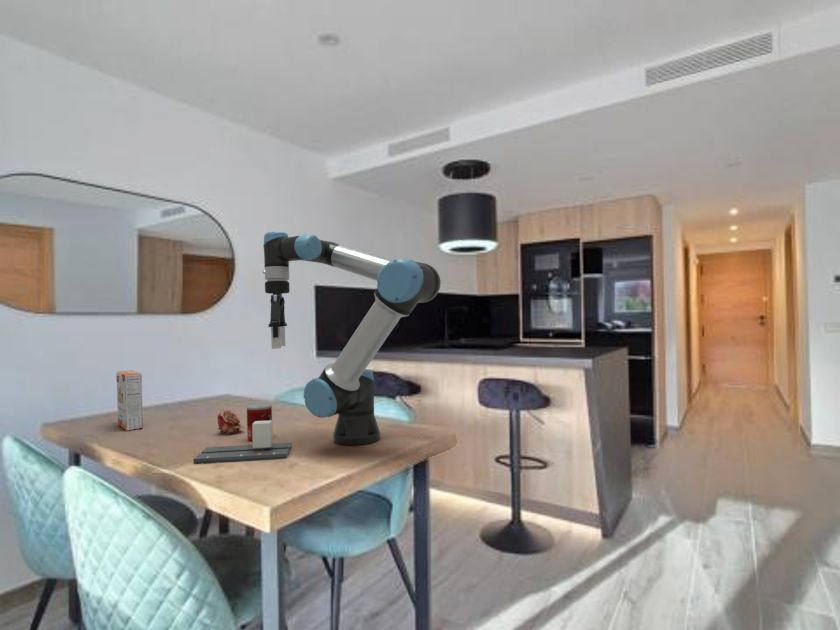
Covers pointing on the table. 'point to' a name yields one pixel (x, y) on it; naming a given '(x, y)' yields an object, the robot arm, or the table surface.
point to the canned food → (257, 416)
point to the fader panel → (242, 453)
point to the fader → (262, 434)
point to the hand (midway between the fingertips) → (278, 347)
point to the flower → (228, 421)
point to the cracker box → (129, 400)
